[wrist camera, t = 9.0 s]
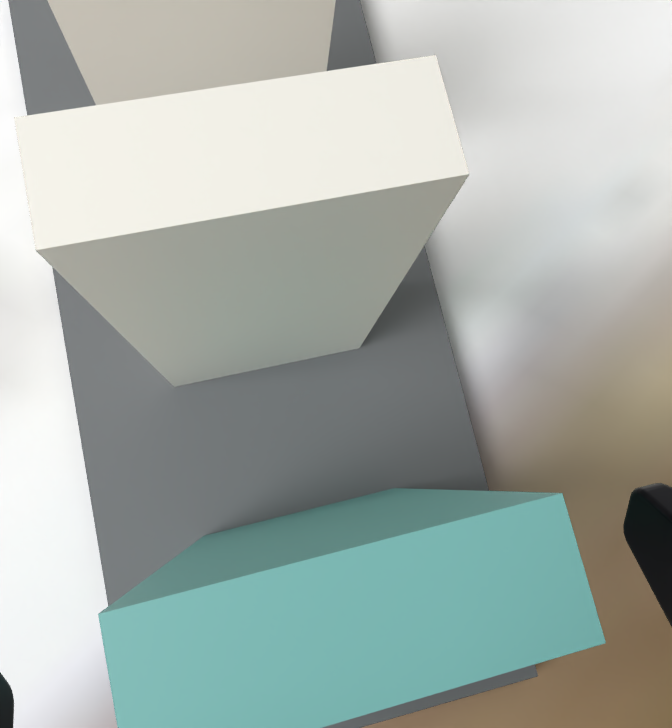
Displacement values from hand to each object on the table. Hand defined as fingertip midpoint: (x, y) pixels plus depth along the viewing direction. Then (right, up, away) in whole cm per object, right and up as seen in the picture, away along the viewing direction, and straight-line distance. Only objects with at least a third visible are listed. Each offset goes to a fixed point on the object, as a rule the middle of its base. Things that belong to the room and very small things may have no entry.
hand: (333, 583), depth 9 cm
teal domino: (-1, -1, +7) cm, 8 cm away
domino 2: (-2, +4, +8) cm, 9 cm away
